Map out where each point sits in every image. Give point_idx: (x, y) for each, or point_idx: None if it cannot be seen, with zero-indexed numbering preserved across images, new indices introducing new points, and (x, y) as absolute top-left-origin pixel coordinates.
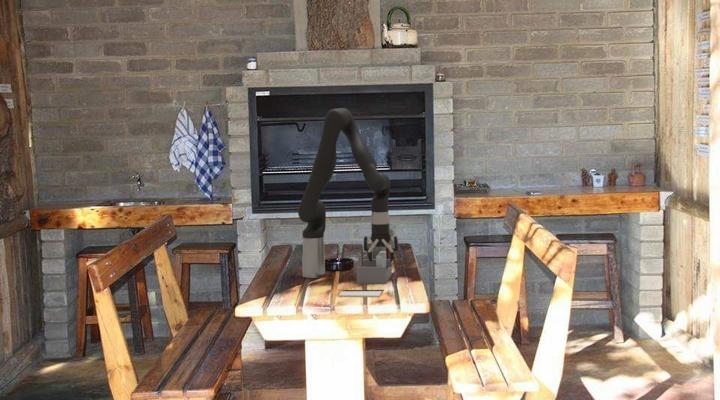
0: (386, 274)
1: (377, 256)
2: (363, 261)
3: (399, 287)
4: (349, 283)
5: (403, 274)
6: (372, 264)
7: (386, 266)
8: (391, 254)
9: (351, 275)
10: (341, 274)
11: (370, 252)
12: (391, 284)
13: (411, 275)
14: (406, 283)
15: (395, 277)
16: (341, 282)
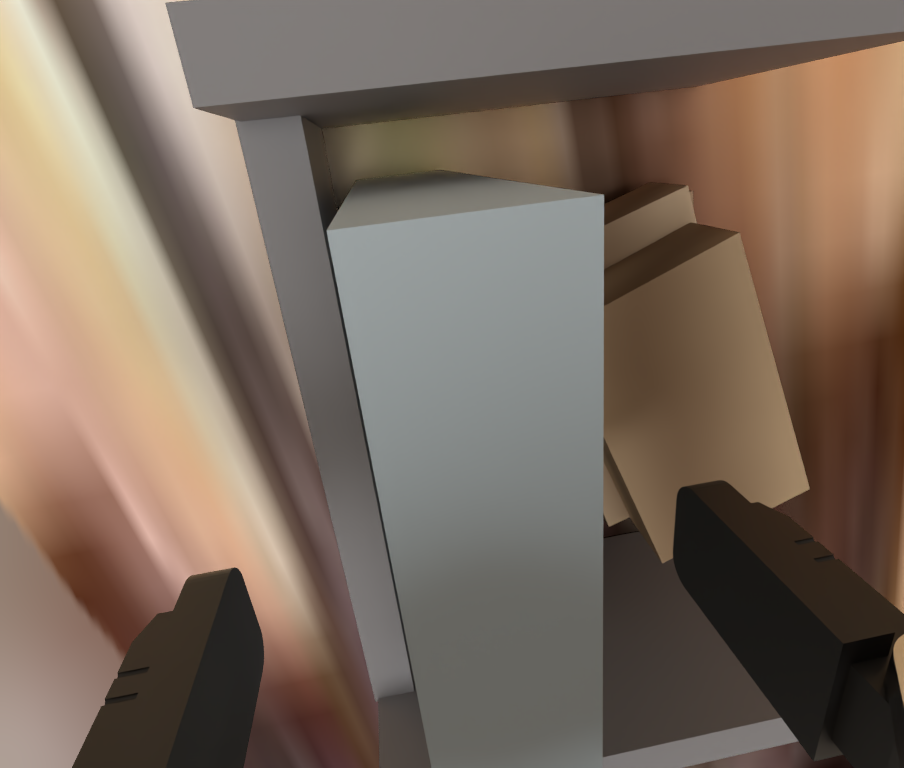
0: (246, 155)
1: (538, 240)
2: None
3: (30, 66)
4: (803, 234)
5: (312, 745)
6: (641, 671)
7: None
8: (133, 732)
9: None
10: None
11: (869, 658)
12: (251, 270)
13: None
14: (69, 370)
15: (345, 624)
16: (893, 274)
